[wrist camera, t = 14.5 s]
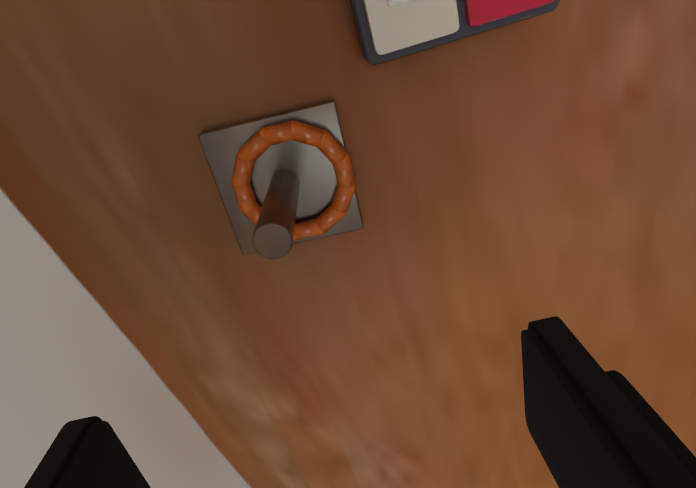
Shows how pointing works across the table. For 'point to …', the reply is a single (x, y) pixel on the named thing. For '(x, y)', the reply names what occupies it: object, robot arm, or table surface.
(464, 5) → the calculator
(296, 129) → the orange ring
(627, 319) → the table surface
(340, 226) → the post
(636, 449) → the robot arm
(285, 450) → the table surface
